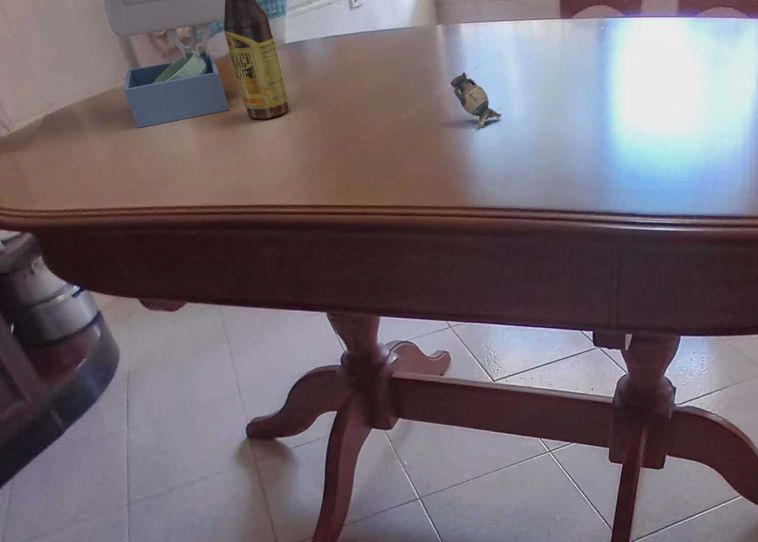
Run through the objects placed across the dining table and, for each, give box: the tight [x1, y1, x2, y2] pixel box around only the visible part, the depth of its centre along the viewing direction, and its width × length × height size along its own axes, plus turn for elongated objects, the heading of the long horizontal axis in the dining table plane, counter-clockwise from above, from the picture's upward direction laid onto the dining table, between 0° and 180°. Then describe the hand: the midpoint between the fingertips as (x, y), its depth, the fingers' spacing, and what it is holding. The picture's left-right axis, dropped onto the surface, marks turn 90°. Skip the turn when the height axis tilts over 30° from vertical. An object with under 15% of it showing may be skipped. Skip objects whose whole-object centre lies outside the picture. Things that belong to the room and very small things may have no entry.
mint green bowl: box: [152, 50, 207, 84], centre depth 107 cm, size 9×9×3 cm
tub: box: [123, 54, 230, 129], centre depth 108 cm, size 13×13×6 cm
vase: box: [450, 72, 503, 132], centre depth 90 cm, size 5×5×6 cm
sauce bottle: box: [223, 0, 290, 120], centre depth 97 cm, size 6×6×20 cm
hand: (197, 58), depth 107 cm, fingers closed on mint green bowl
